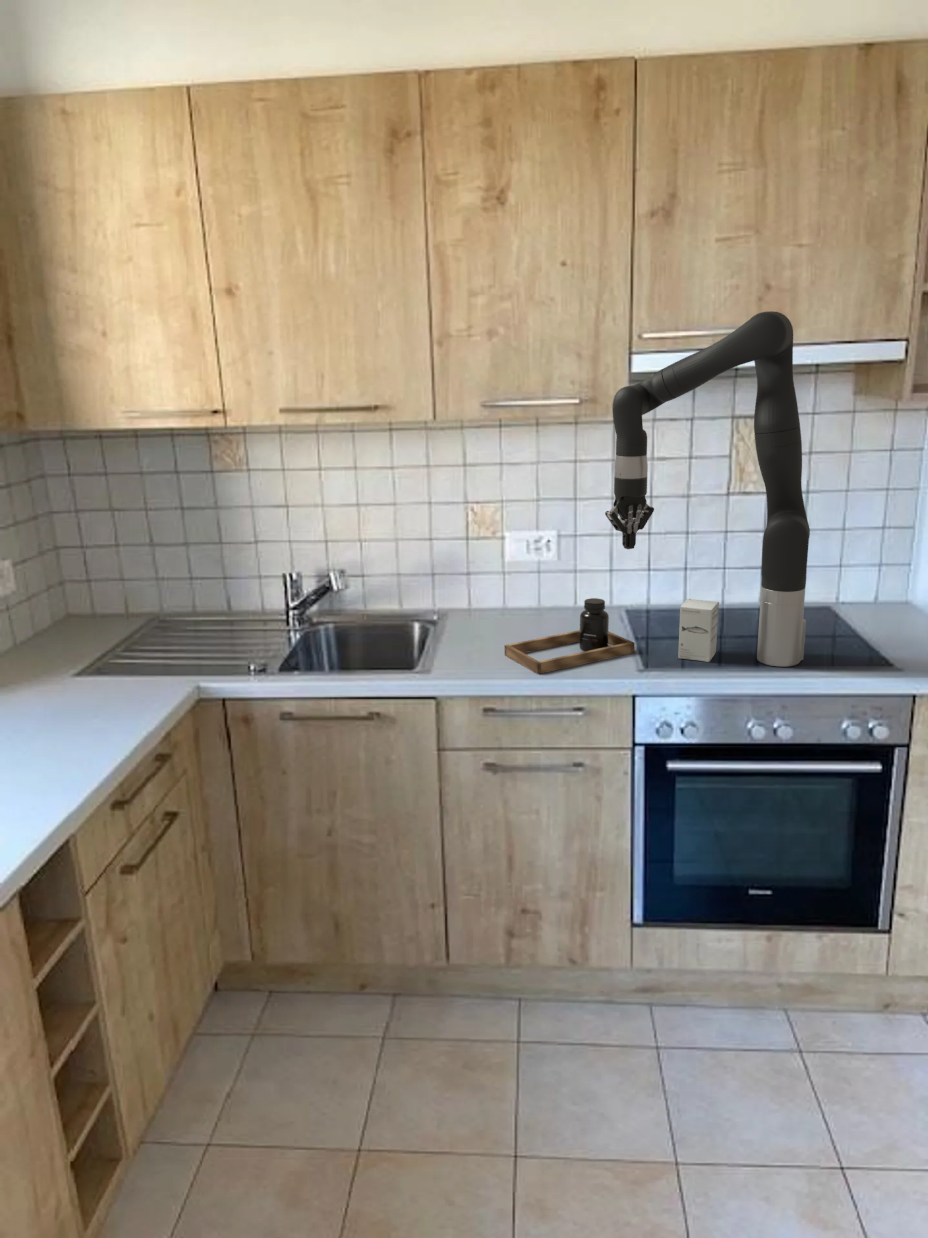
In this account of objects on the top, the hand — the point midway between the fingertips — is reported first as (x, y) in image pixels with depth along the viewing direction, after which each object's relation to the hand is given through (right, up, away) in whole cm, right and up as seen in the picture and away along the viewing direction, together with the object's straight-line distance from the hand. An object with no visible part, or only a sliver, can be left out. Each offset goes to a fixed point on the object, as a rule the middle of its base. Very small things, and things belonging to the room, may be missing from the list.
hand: (629, 548), depth 212 cm
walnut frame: (-14, -25, 0) cm, 29 cm away
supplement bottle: (-8, -24, +3) cm, 25 cm away
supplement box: (+15, -25, -4) cm, 30 cm away
